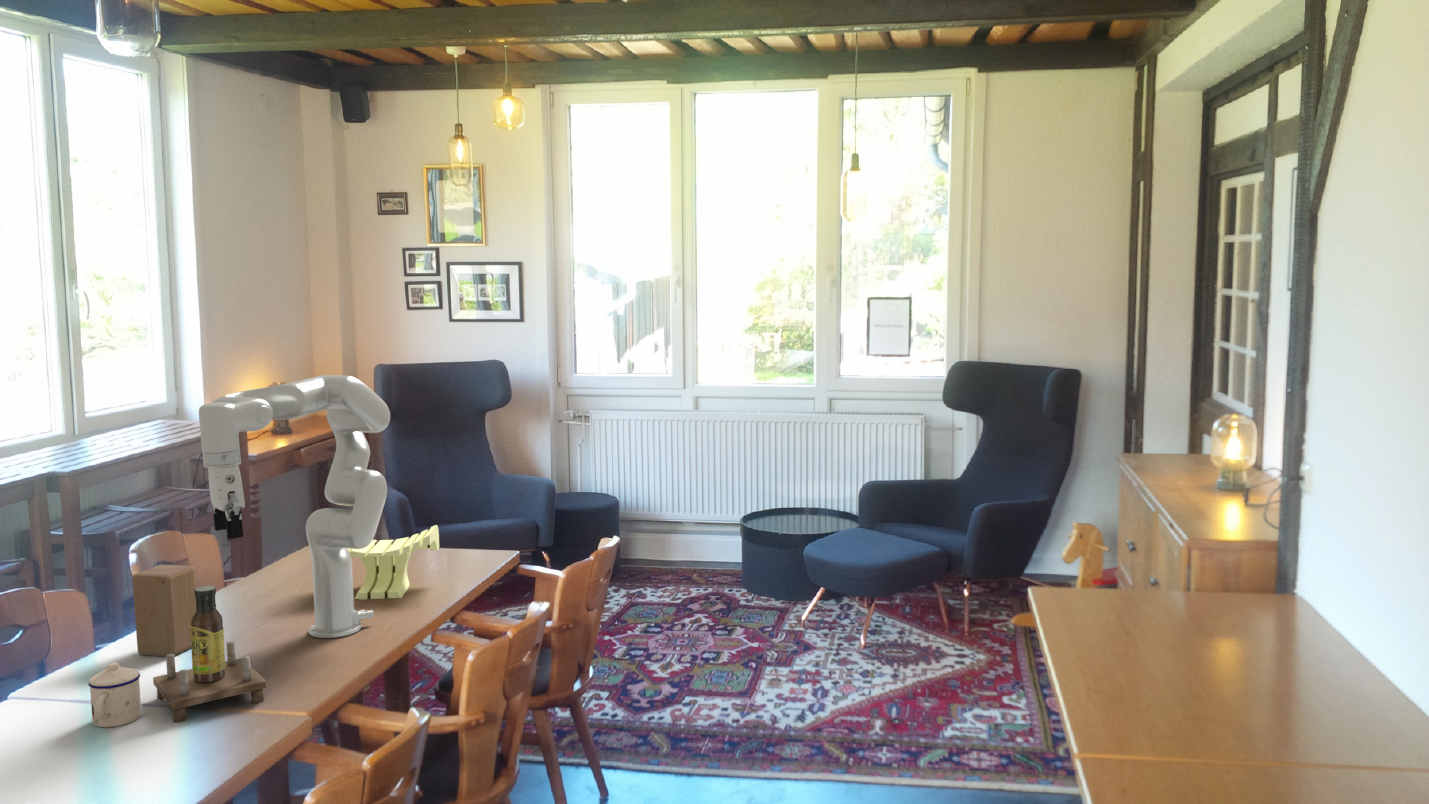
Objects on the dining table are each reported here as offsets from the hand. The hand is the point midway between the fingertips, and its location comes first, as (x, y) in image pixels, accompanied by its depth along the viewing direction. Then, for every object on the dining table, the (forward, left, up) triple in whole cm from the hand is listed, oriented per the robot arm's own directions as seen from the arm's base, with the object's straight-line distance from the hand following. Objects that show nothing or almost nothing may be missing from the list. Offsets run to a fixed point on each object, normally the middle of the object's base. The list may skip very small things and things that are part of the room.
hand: (228, 533), depth 231 cm
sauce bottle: (+8, +12, -28) cm, 32 cm away
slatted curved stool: (-51, -43, -33) cm, 74 cm away
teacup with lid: (+26, +12, -33) cm, 44 cm away
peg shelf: (+8, +12, -33) cm, 36 cm away
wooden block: (+8, -28, -33) cm, 44 cm away
